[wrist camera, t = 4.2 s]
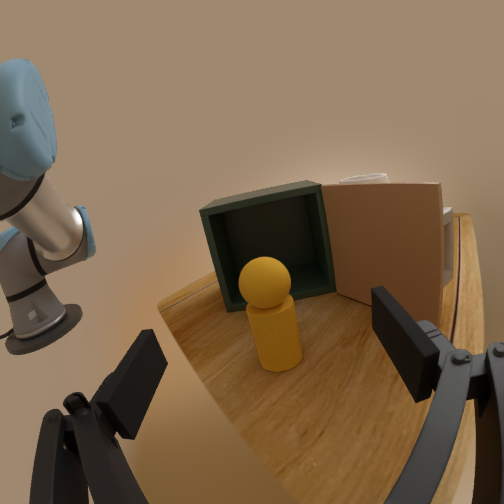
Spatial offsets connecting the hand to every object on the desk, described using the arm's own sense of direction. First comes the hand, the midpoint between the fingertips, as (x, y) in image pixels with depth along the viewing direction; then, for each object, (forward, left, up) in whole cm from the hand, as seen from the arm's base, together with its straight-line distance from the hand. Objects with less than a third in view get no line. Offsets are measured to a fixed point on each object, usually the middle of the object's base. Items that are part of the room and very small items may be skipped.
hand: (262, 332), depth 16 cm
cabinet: (+6, +27, -10) cm, 30 cm away
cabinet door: (+17, +13, -9) cm, 24 cm away
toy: (+2, +9, -10) cm, 14 cm away
